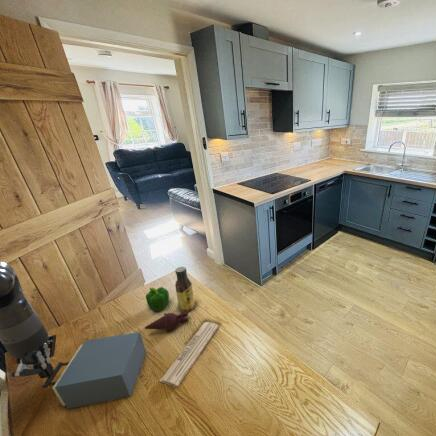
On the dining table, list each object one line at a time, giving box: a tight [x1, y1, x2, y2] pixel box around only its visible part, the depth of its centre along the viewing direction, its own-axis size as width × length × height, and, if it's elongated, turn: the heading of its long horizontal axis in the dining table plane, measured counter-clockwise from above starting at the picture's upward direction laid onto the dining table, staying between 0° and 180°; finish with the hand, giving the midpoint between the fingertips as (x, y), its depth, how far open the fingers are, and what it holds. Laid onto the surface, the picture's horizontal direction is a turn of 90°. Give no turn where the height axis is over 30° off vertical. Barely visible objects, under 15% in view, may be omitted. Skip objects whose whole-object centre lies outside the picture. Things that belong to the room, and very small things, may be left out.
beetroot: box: [144, 311, 189, 333], centre depth 92 cm, size 7×7×15 cm
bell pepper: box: [145, 286, 170, 312], centre depth 101 cm, size 8×8×10 cm
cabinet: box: [55, 331, 147, 410], centre depth 73 cm, size 16×15×10 cm
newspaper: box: [158, 321, 219, 388], centre depth 84 cm, size 24×7×2 cm, turn 165°
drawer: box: [41, 343, 83, 407], centre depth 72 cm, size 20×14×8 cm
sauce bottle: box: [174, 266, 196, 313], centre depth 99 cm, size 7×6×20 cm
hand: (48, 375), depth 69 cm, fingers closed
